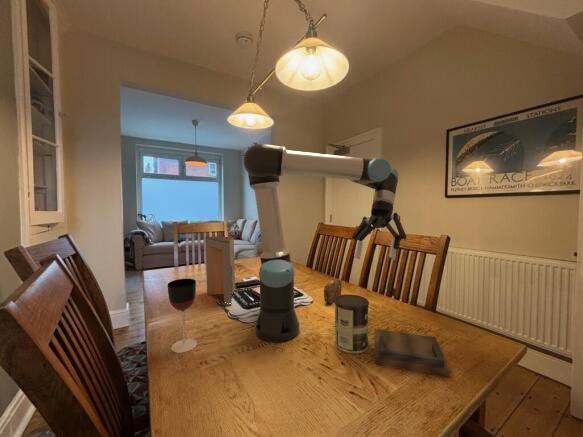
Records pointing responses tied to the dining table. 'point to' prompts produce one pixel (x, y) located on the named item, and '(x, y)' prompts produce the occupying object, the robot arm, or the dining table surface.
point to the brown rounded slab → (332, 291)
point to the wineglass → (182, 308)
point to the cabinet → (220, 268)
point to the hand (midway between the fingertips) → (373, 258)
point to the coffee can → (351, 323)
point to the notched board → (410, 352)
